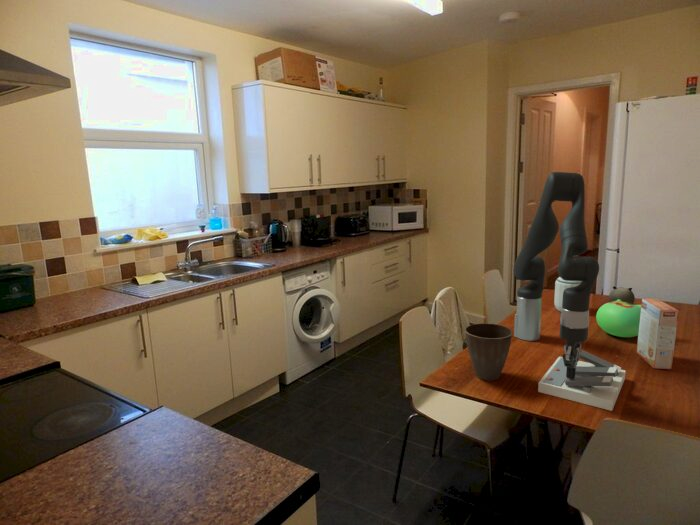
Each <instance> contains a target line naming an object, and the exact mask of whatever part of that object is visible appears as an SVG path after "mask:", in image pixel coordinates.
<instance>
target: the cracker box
mask: <svg viewBox="0 0 700 525" xmlns="http://www.w3.org/2000/svg"><path fill="white" fill-rule="evenodd" d="M640 305H641V315H640V324H639V334H638V335H637V344H636V354H637V355H638V356H639V357H640V358H642V359H643V360H644V361H645V362H646V363H647V364H648V365H649V366H650V367H651V368H652V369H655V370H656V369H658V370H661V369H662V370H672V367H673V360H674V353H675V344H676V337H677V336H676V335H677V328H678V319H679V312H680V311H679V310H678V309H677V308H675V307H673V306H671V305H669V304H668V303H666V302H664V300H661V299H657V298H642V299H641V304H640Z"/></svg>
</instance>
